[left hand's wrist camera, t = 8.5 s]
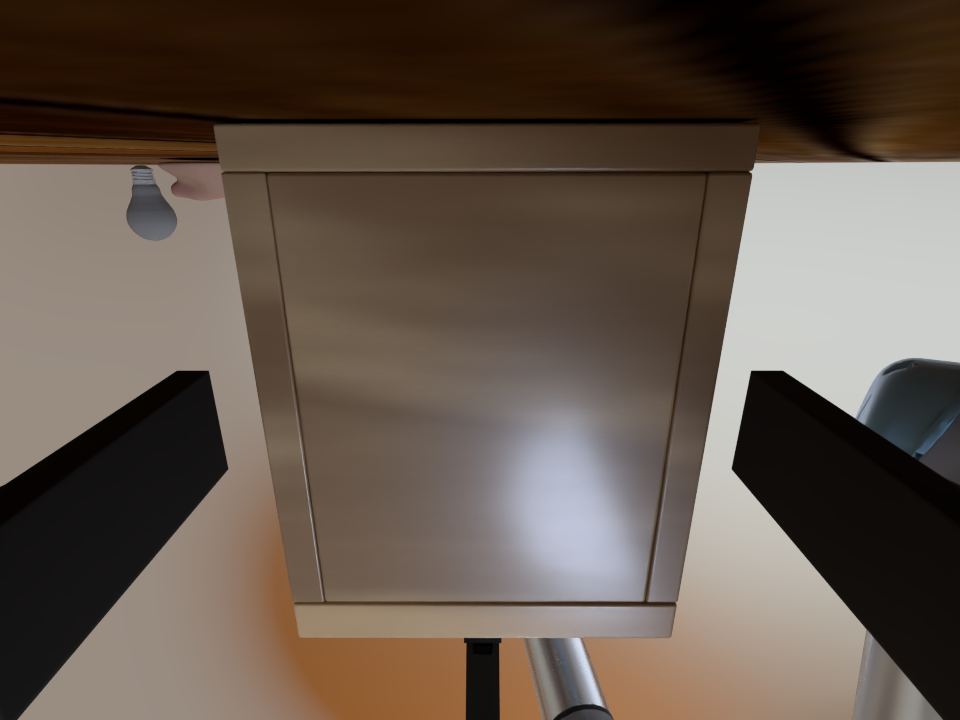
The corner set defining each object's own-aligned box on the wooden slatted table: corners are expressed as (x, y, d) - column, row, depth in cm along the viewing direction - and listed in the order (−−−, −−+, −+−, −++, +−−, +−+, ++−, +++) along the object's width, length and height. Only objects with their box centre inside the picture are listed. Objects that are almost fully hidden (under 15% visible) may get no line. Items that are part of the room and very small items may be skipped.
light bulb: (154, 165, 67) (170, 242, 70) (173, 165, 73) (187, 237, 76) (104, 165, 66) (123, 243, 70) (127, 165, 72) (144, 238, 75)
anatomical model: (159, 220, 37) (322, 214, 41) (146, 161, 36) (317, 162, 40) (176, 208, 48) (303, 205, 53) (167, 163, 47) (298, 163, 51)
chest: (602, 149, 21) (582, 393, 25) (365, 149, 21) (383, 393, 25) (763, 122, 9) (678, 603, 13) (211, 122, 9) (291, 602, 13)
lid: (580, 389, 25) (569, 537, 29) (385, 389, 26) (396, 537, 29) (678, 605, 13) (638, 827, 16) (291, 604, 13) (329, 826, 16)
